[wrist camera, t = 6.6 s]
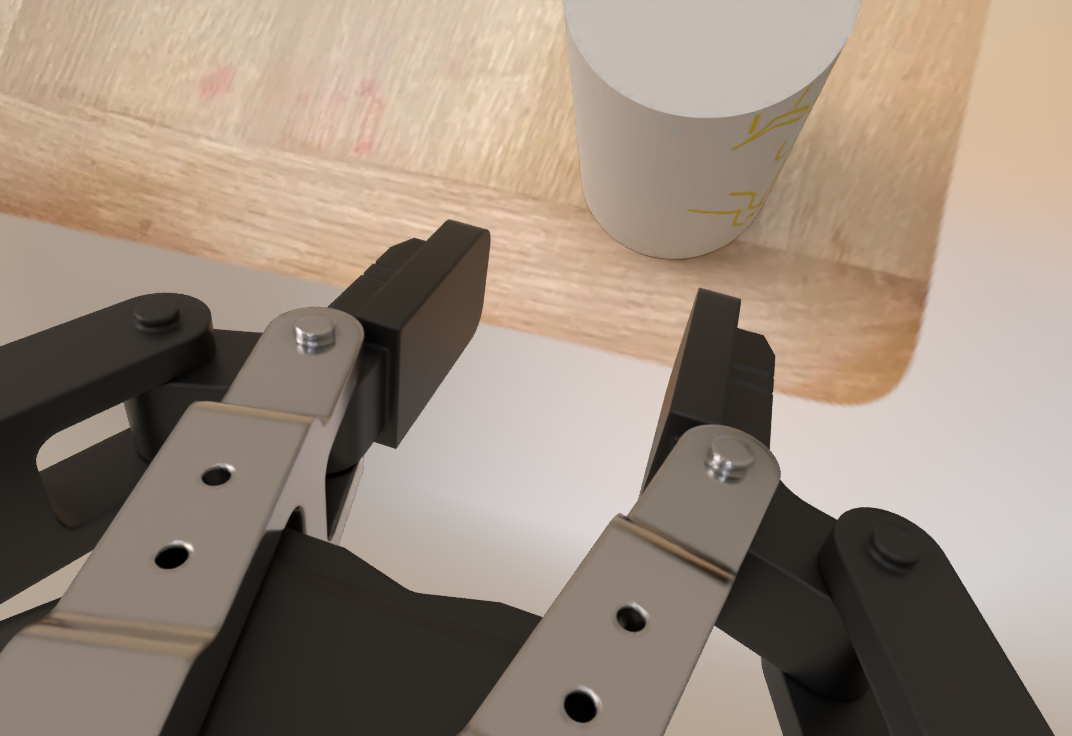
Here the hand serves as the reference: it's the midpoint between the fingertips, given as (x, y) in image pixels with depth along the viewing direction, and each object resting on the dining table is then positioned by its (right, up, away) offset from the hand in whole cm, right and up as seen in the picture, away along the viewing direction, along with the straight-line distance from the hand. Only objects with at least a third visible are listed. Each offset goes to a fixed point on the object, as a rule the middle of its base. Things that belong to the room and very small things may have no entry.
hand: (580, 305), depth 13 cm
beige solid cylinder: (+5, +7, +19) cm, 21 cm away
